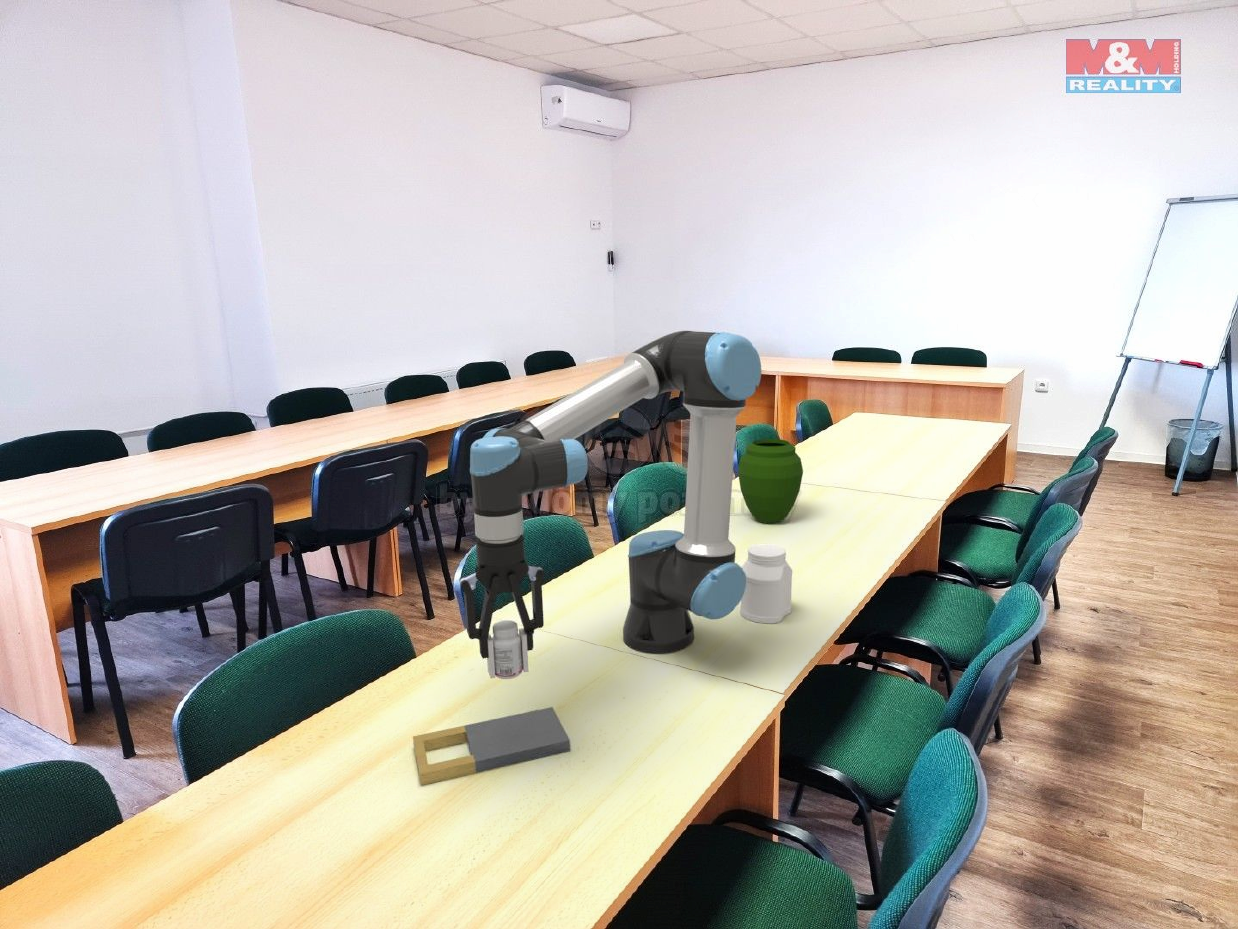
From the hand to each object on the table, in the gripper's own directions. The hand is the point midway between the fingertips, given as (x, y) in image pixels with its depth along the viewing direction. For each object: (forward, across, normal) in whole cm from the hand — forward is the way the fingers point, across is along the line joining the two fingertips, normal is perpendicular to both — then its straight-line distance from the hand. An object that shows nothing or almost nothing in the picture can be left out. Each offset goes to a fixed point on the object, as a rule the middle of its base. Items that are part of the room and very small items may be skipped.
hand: (508, 671), depth 130 cm
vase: (+12, -98, -89) cm, 133 cm away
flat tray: (+13, +4, +1) cm, 14 cm away
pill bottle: (+1, 0, 0) cm, 1 cm away
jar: (+13, -64, -29) cm, 71 cm away
